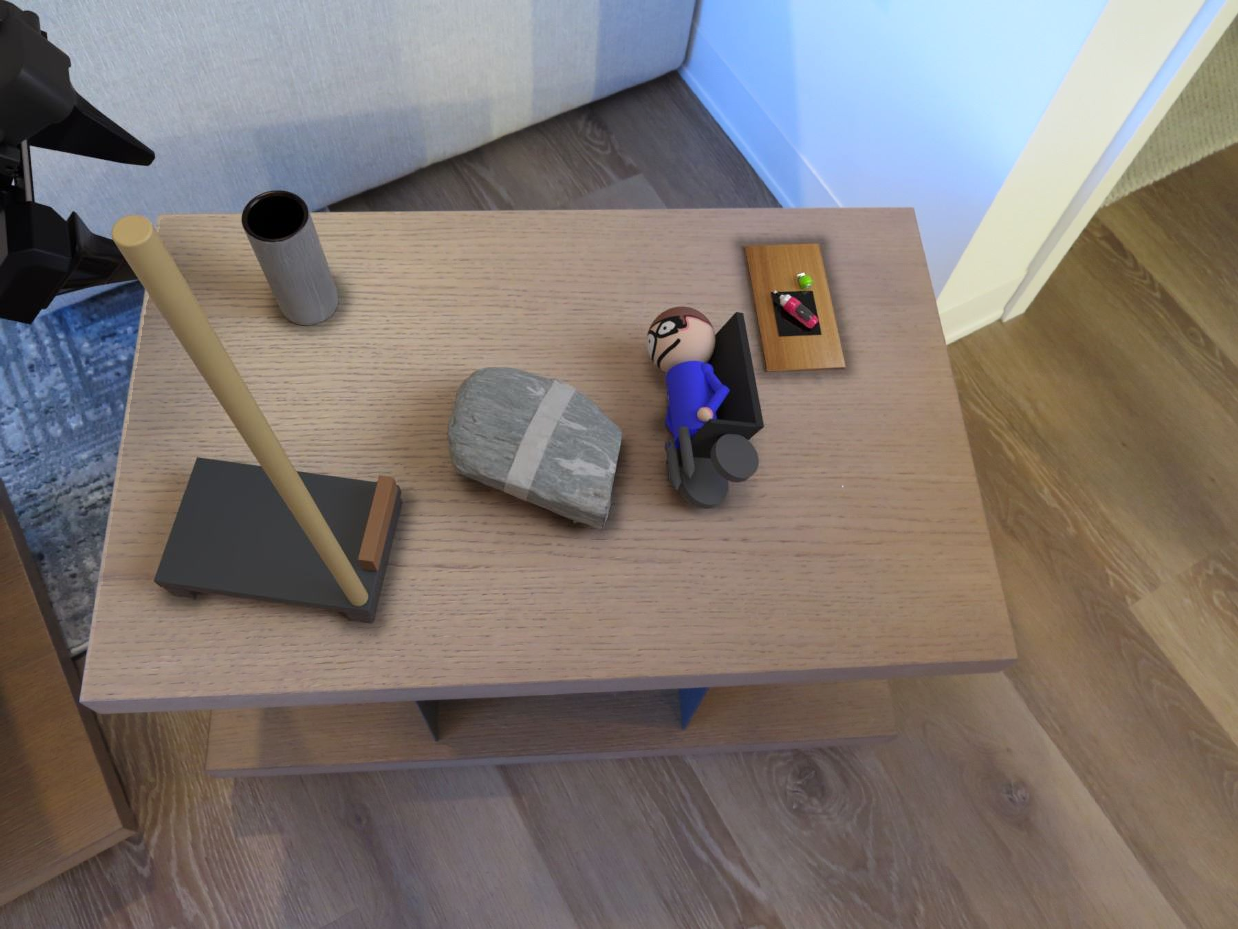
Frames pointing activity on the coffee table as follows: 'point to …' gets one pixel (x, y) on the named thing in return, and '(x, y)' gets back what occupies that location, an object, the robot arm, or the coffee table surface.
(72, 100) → the robot arm
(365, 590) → the stand with wooden pole
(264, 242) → the planter
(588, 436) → the decorative stone
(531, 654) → the coffee table surface
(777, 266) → the board
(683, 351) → the character figurine
